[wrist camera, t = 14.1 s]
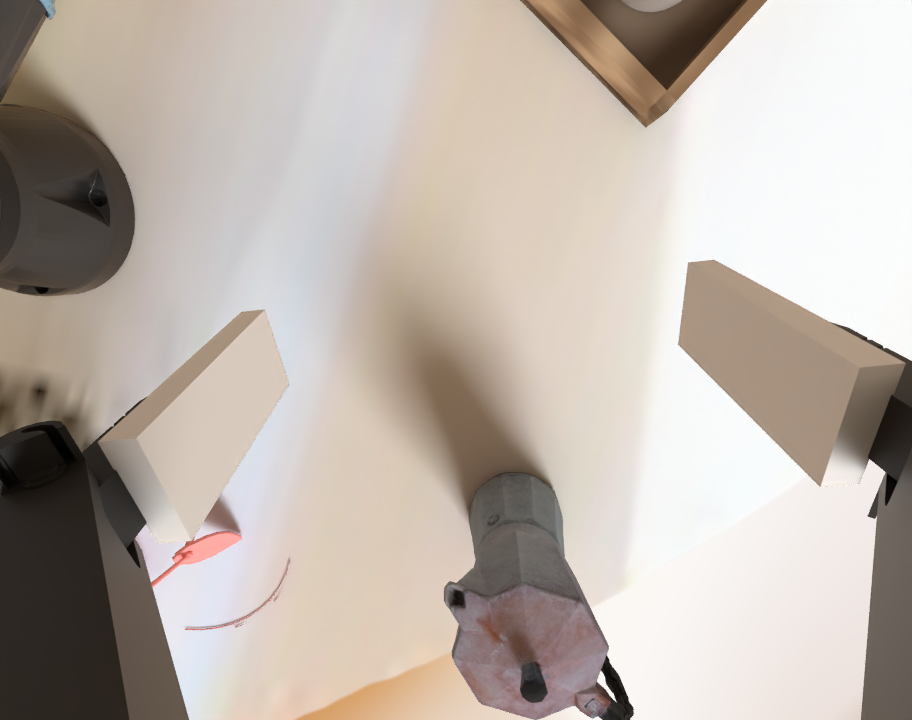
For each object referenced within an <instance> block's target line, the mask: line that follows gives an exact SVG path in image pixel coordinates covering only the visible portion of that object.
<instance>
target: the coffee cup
mask: <svg viewBox="0 0 912 720" xmlns="http://www.w3.org/2000/svg"><path fill="white" fill-rule="evenodd" d="M621 1H622V2H623V3H625V4H626V5H627V6H629V7H631V8H633V9H635V10H638V11H642V12H658V11H663V10H666V9H668V8H670V7H673V6H674V5H676V4H678V3H679V2H681V1H682V0H621Z"/></svg>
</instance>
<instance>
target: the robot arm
mask: <svg viewBox="0 0 912 720" xmlns="http://www.w3.org/2000/svg"><path fill="white" fill-rule="evenodd" d="M54 2H55V0H0V102H1V100H2V98H3V96H4V95H5V93H6V91H7V89H8V87H9V85H10V83H11V82H12V80H13V78H14V76H15V74H16V72H17V71H18V69H19V67H20V65H21V63H22V61H23V59H24V58H25V56H26V54H27V52H28V50H29V48H30V47H31V45H32V43H33V41H34V39H35V37H36V35H37V34H38V32H39V30H40V28H41V26H42V24H43V23H44V21H45V19H46V17H47V18H49V19H52V18H53V16H54V15H55V7H54V5H53V4H54ZM134 221H135V218H134V207H133V201H132V196H131V193H130V189H129V186H128V183H127V181H126V179H125V176H124V174H123V172H122V170H121V169H120V167H119V165H118V163H117V162H116V160H115V159H114V157H113V156H112V155H111V153H110V152H109V151H108V150H107V149H106V147H105V146H104V145H103V144H102V143H101V142H100V141H99V140H98V139H97V138H95V137H94V136H93V135H92V134H91V133H89V132H88V131H87V130H85V129H84V128H82V127H81V126H79V125H77V124H76V123H74V122H72V121H70V120H67V119H65V118H63V117H60V116H57V115H54V114H51V113H48V112H45V111H42V110H39V109H36V108H32V107H28V106H22V105H15V104H0V288H2V289H6V290H10V291H14V292H18V293H22V294H27V295H35V296H59V295H70V294H78V293H83V292H86V291H89V290H92V289H94V288H96V287H98V286H100V285H102V284H103V283H105V282H106V281H107V280H109V279H110V278H111V277H112V276H113V275H114V274H115V273H116V272H117V271H118V269H119V268H120V267H121V265H122V264H123V262H124V261H125V259H126V257H127V255H128V252H129V250H130V247H131V244H132V239H133V234H134ZM678 345H679V346H680V347H681V348H682V349H683V350H684V351H685V352H686V353H687V354H688V355H689V356H690V357H691V358H692V359H693V360H694V361H695V362H696V363H697V364H698V365H699V366H700V367H701V368H702V369H703V370H704V371H705V372H706V373H707V374H708V375H709V376H710V377H711V378H712V379H713V380H714V381H715V382H716V383H717V384H718V385H719V386H720V387H721V388H722V389H723V390H724V391H725V392H726V393H727V394H728V395H729V396H730V397H731V398H732V399H733V400H734V401H735V402H736V403H737V404H738V405H739V406H740V407H741V408H742V409H743V410H744V411H745V412H746V413H747V414H748V415H749V416H750V417H751V418H752V419H753V420H754V421H755V422H756V423H757V424H758V425H759V426H760V427H761V428H762V429H763V430H764V431H765V432H766V433H767V434H768V435H769V436H770V437H771V438H772V439H773V440H774V441H775V442H776V443H777V444H778V445H779V446H780V447H781V448H782V449H783V450H784V451H785V452H786V453H787V454H788V455H789V456H790V457H791V458H792V459H793V460H794V461H795V462H796V463H797V464H798V465H799V466H800V467H801V468H802V469H803V470H804V471H805V472H806V473H807V474H808V475H809V476H810V477H811V478H812V479H813V480H814V481H815V482H816V483H817V484H818V485H819V486H820V487H828V486H839V485H851V484H860V482H861V479H862V476H863V474H864V471H865V469H866V466H867V463H868V461H869V459H870V460H872V461H873V462H874V463H875V464H877V465H878V466H879V467H880V468H881V469H883V470H884V471H885V472H886V473H885V475H884V477H883V480H882V483H881V485H880V487H879V490H878V493H877V495H876V497H875V499H874V502H873V504H872V507H871V509H870V512H869V515H868V517H871V518H874V519H875V518H876V516H877V524H876V536H875V549H874V561H873V574H872V587H871V599H870V612H869V625H868V638H867V650H866V663H865V676H864V688H863V702H862V713H861V720H912V361H910V360H909V359H907V358H905V357H903V356H901V355H899V354H897V353H895V352H893V351H891V350H890V349H888V348H883V346H882V345H880V344H878V343H876V342H874V341H873V340H867V337H865V336H863V335H861V334H859V333H857V332H855V331H854V330H852V329H850V328H847V327H844V326H841V325H838V324H834V323H831V322H828V321H827V320H825V319H823V318H821V317H819V316H817V315H815V314H814V313H812V312H810V311H808V310H806V309H804V308H802V307H801V306H799V305H797V304H795V303H793V302H791V301H789V300H788V299H786V298H784V297H782V296H780V295H778V294H776V293H775V292H773V291H771V290H769V289H767V288H765V287H763V286H762V285H760V284H758V283H756V282H754V281H752V280H750V279H749V278H747V277H745V276H743V275H741V274H739V273H737V272H736V271H734V270H732V269H730V268H728V267H726V266H725V265H723V264H721V263H719V262H717V261H715V260H709V261H699V262H690V263H688V268H687V276H686V285H685V293H684V301H683V310H682V318H681V326H680V334H679V343H678ZM288 386H289V382H288V378H287V375H286V372H285V369H284V366H283V363H282V360H281V357H280V354H279V351H278V348H277V345H276V342H275V339H274V336H273V333H272V329H271V326H270V323H269V320H268V317H267V314H266V311H265V310H256V311H247V312H241V313H240V314H239V315H238V316H237V317H235V318H234V319H233V320H232V321H231V322H230V323H229V324H228V325H227V326H225V327H224V328H223V329H222V330H221V331H220V332H219V333H218V334H217V335H215V336H214V337H213V338H212V339H211V340H210V341H209V342H208V343H207V344H206V345H204V346H203V347H202V348H201V349H200V350H199V351H198V352H197V353H196V354H194V355H193V356H192V357H191V358H190V359H189V360H188V361H187V362H186V363H184V364H183V365H182V366H181V367H180V368H179V369H178V370H177V371H176V372H174V373H173V374H172V375H171V376H170V377H169V378H168V379H167V380H166V381H165V382H163V383H162V384H161V385H160V386H159V387H158V388H157V389H156V390H155V391H153V392H152V393H151V394H150V395H149V396H148V397H146V398H144V399H143V400H141V401H139V402H138V403H137V404H136V405H135V406H134V407H132V408H131V409H130V410H129V411H128V412H127V413H126V414H125V415H126V416H122V417H121V418H120V419H119V420H118V421H117V422H116V423H115V424H114V426H113V427H110V428H109V429H108V430H107V431H106V432H105V433H103V434H102V435H101V436H100V437H99V438H98V439H97V440H96V441H94V442H93V443H92V444H91V445H90V446H89V447H88V448H87V449H85V450H84V451H83V452H82V453H81V451H80V450H79V448H78V446H77V445H76V443H75V442H74V440H73V438H72V437H71V435H70V433H69V432H68V430H67V429H66V427H65V425H64V424H63V423H62V422H61V421H46V422H40V423H35V424H32V425H29V426H25V427H22V428H20V429H17V430H15V431H13V432H10V433H8V434H5V435H4V436H2V437H0V720H189V718H188V714H187V711H186V707H185V704H184V700H183V696H182V693H181V689H180V686H179V682H178V678H177V675H176V671H175V668H174V664H173V661H172V657H171V653H170V650H169V646H168V643H167V639H166V635H165V632H164V628H163V625H162V621H161V617H160V614H159V610H158V607H157V603H156V599H155V596H154V592H153V589H152V585H151V581H150V578H149V574H148V571H147V567H146V564H145V560H144V556H143V553H142V550H141V548H140V547H139V545H138V544H137V542H136V540H135V539H134V538H135V537H136V536H137V535H138V533H139V532H140V531H141V529H142V528H143V527H144V525H145V524H146V525H147V527H148V529H149V530H150V532H151V534H152V535H153V537H154V539H155V540H156V542H157V544H161V543H173V542H185V541H192V539H193V538H194V536H195V535H196V533H197V531H198V530H199V528H200V527H201V525H202V523H203V522H204V520H205V519H206V517H207V515H208V514H209V512H210V511H211V509H212V507H213V506H214V504H215V503H216V501H217V499H218V498H219V496H220V495H221V493H222V491H223V490H224V488H225V487H226V485H227V483H228V482H229V480H230V479H231V477H232V475H233V474H234V472H235V471H236V469H237V467H238V466H239V464H240V463H241V461H242V459H243V458H244V456H245V455H246V453H247V451H248V450H249V448H250V447H251V445H252V443H253V442H254V440H255V439H256V437H257V435H258V434H259V432H260V431H261V429H262V427H263V426H264V424H265V423H266V421H267V419H268V418H269V416H270V414H271V413H272V411H273V410H274V408H275V406H276V405H277V403H278V402H279V400H280V398H281V397H282V395H283V394H284V392H285V390H286V389H287V387H288Z"/></svg>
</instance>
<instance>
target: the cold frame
mask: <svg viewBox="0 0 912 720" xmlns="http://www.w3.org/2000/svg"><path fill="white" fill-rule="evenodd" d="M521 1H522V2H523V3H524V4H525V5H526V6H527V7H528V8H529V9H530V10H531V11H532V12H533V13H534V14H535V15H536V16H537V17H538V18H539V20H540V21H541V22H542V23H543V24H544V25H545V26H546V27H547V28H548V29H549V30H550V31H551V32H552V33H553V34H554V35H555V36H556V37H557V38H558V39H559V40H560V41H561V42H562V43H563V44H564V45H565V46H566V47H567V48H568V49H569V50H570V51H571V52H572V53H573V54H574V55H575V56H576V57H577V58H578V59H579V60H580V61H581V62H582V63H583V64H584V65H585V66H586V67H587V68H588V69H589V70H590V71H591V72H592V73H593V74H594V75H595V76H596V77H597V78H598V79H599V80H600V81H601V82H602V84H603V85H604V86H605V87H606V88H607V89H608V90H609V91H610V92H611V93H612V94H613V95H614V96H615V97H616V98H617V99H618V100H619V101H620V102H621V103H622V104H623V105H624V106H625V107H626V108H627V109H628V110H629V111H630V112H631V113H632V114H633V115H634V116H635V117H636V118H637V119H638V120H639V121H640V122H641V123H642V124H643V125H644V126H645V127H647V126H648V125H650V124H651V123H652V122H654V121H655V120H656V119H658V118H659V117H660V116H662V115H663V114H664V113H666V112H667V111H668V110H669V108H670V107H671V106H672V105H673V104H674V103H675V102H676V101H677V100H678V98H679V97H680V96H681V95H682V94H683V93H684V92H685V91H686V90H687V89H688V87H689V86H690V85H691V84H692V83H693V82H694V81H695V80H696V79H697V77H698V76H699V75H700V74H701V73H702V72H703V71H704V70H705V69H706V67H707V66H708V65H709V64H710V63H711V62H712V61H713V60H714V59H715V57H716V56H717V55H718V54H719V53H720V52H721V51H722V50H723V49H724V48H725V46H726V45H727V44H728V43H729V42H730V41H731V40H732V39H733V38H734V36H735V35H736V34H737V33H738V32H739V31H740V30H741V29H742V28H743V26H744V25H745V24H746V23H747V22H748V21H749V20H750V19H751V18H752V17H753V15H754V14H755V13H756V12H757V11H758V10H759V9H760V8H761V7H762V5H763V4H764V3H765V2H766V1H767V0H682V1H681V2H679V3H678V4H676V5H674V6H673V7H670V8H668V9H666V10H663V11H658V12H642V11H638V10H635V9H633V8H631V7H629V6H627V5H626V4H625V3H623V2H622V1H621V0H521Z"/></svg>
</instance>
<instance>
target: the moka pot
mask: <svg viewBox="0 0 912 720" xmlns="http://www.w3.org/2000/svg"><path fill="white" fill-rule="evenodd" d="M469 523H470V529H471V534H472V539H473V546H474V554H475V558H476V561H475V565H474V568H473V569H471V570H470V571H469V572H468V573H467V574H466V575H465V576H464V577H463V578H462V579H461V580H459V581H458V582H457V583H454V582H448V584H447V585H446V586H445V588H444V601H445V604H446V605H447V607H448V608H449V609H450V610H451V612H452V614H453V616H454V617H455V619H456V620H457V622H458V623H459V626H458V630H457V634H456V639H455V642H454V646H453V649H452V657H453V659H454V662H455V665H456V666H457V668H458V669H459V671H460V672H461V674H462V676H463V677H464V679H465V680H466V682H467V683H468V685H469V687H470V688H471V690H472V692H473V693H474V695H475V696H476V698H477V700H478V701H479V702H480V703H481V704H483V705H486V706H489V707H493V708H496V709H500V710H503V711H506V712H509V713H513V714H516V715H520V716H523V717H527V718H530V719H534V720H537V719H540V718H544V717H546V716H548V715H550V714H553V713H555V712H559V711H561V710H563V709H565V708H568V707H571V706H576V707H577V708H578V709H579V710H580V711H581V712H583V713H584V714H586V715H587V716H589V717H591V718H595V717H597V716H599V717H600V718H601V719H602V720H630V718H631V717H632V716H633V714H634V713H633V710H634V709H633V707H632V705H631V704H630V703H629V701H628V696H627V694H626V692H625V689H624V687H623V684H622V682H621V679H620V677H619V675H618V673H617V672H616V671H615V670H614V668H612V665H611V664H610V662H609V658H608V657H607V652H608V649H609V646H608V644H607V641H606V640H605V637H604V635H603V633H602V631H601V629H600V627H599V625H598V623H597V621H596V620H595V617H594V615H593V613H592V610H591V608H590V606H589V604H588V602H587V600H586V598H585V596H584V594H583V592H582V590H581V588H580V585H579V583H578V581H577V579H576V577H575V575H574V574H573V572H572V570H571V568H570V567H569V565H568V563H567V561H566V560H565V555H564V539H563V519H562V514H561V510H560V507H559V504H558V500H557V498H556V495H555V492H554V490H553V489H551V488H550V487H549V486H548V485H547V484H545V483H544V482H542V481H541V480H539V479H538V478H536V477H535V476H532V475H530V474H525V473H503V474H500V475H498V476H496V477H493V478H492V479H490V480H489V481H487V482H486V483H485V484H483V485H482V486H481V487H480V488H479V489H478V490H477V491H476V494H475V496H474V498H473V501H472V504H471V508H470V512H469ZM600 671H602V672H603V674H604V676H605V679H606V684H607V686H608V687H609V688H610V690H611V691H612V692H613V693H614V696H615V699H616V701H617V702H615V701H614V700H613V699H612V698H611V697H610V696H609V694H608V693H607V691H606V690H605V689H604V688H603V687H602V686H601V685H600V684H598V682H597V678H598V675H599V673H600Z"/></svg>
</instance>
